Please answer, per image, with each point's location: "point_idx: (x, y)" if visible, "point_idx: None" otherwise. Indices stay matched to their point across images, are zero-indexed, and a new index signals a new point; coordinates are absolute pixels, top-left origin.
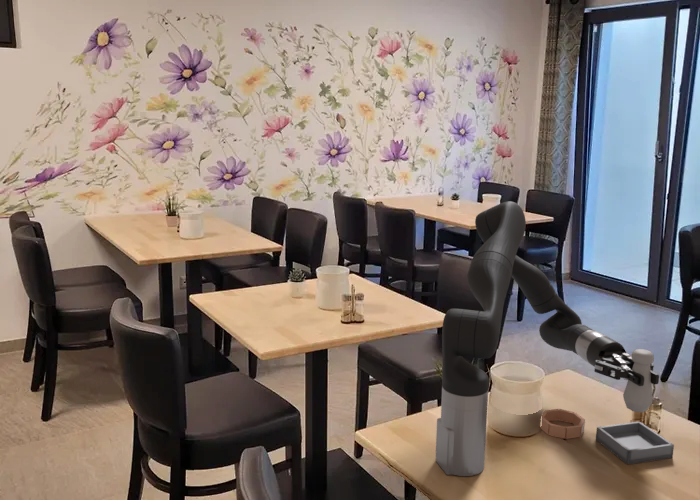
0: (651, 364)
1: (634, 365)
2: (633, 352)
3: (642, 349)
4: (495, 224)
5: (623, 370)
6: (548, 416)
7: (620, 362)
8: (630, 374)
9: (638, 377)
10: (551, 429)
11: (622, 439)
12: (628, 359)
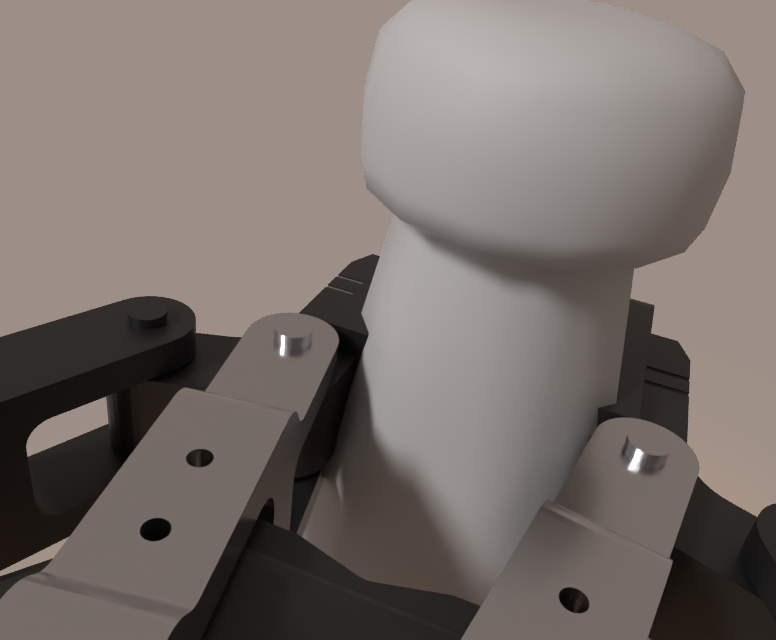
0: (164, 304)
1: (624, 307)
2: (720, 95)
3: (502, 9)
4: None
5: (696, 521)
6: None
7: (667, 566)
8: (684, 417)
9: (654, 339)
10: None
11: None
12: (206, 608)
